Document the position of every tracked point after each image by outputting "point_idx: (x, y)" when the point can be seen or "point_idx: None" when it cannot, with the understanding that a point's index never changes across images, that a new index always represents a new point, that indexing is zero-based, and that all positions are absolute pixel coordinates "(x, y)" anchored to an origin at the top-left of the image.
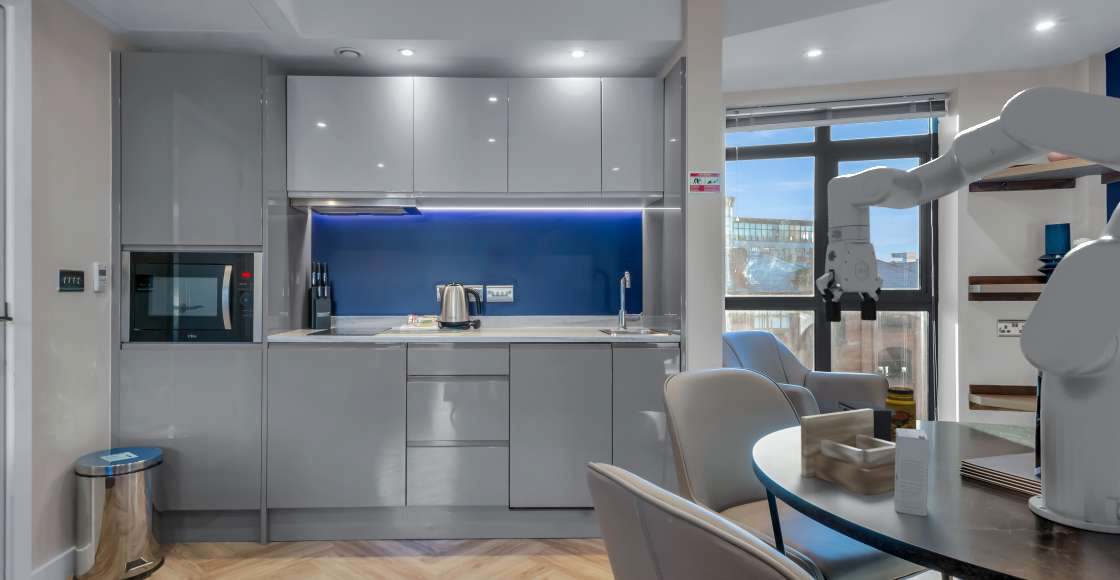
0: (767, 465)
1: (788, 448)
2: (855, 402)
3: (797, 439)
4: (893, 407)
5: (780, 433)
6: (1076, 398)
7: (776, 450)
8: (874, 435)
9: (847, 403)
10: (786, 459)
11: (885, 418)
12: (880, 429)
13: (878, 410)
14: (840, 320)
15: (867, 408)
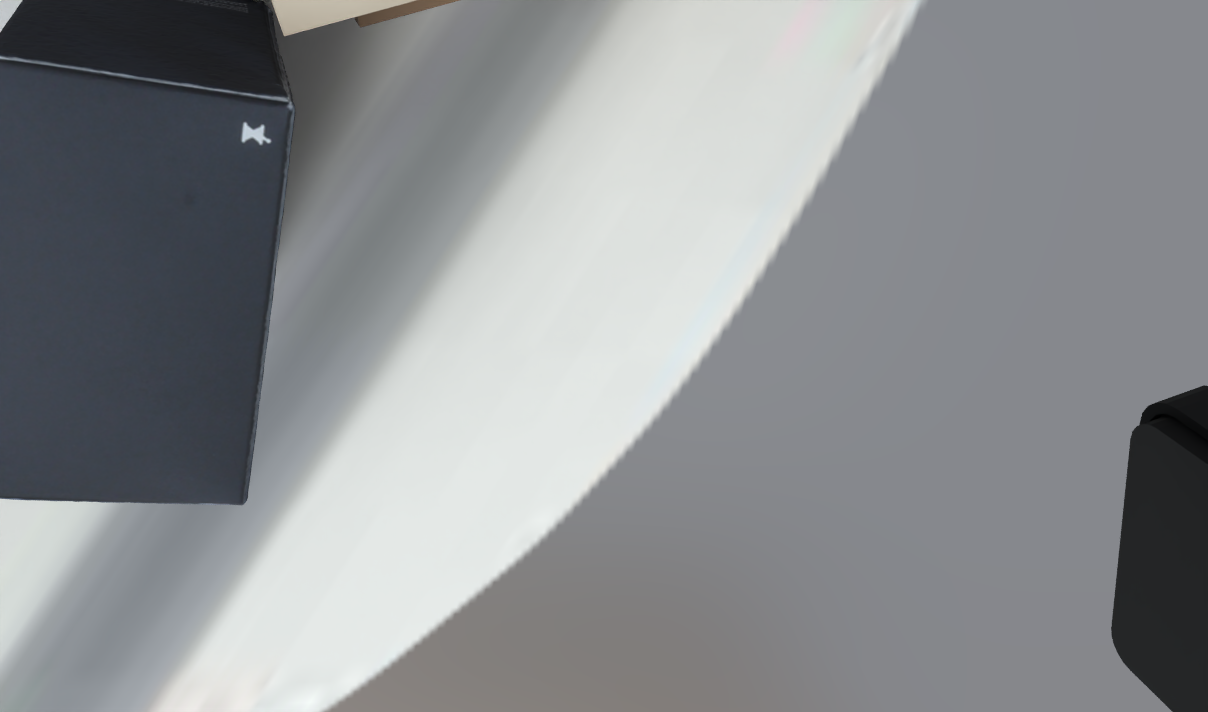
0: (874, 35)
1: (563, 335)
2: (146, 412)
3: (393, 512)
4: None
5: (419, 634)
6: None
7: (654, 303)
8: (177, 26)
9: (249, 381)
10: (709, 127)
11: (63, 43)
12: (120, 29)
13: (129, 74)
14: (1177, 402)
15: (294, 29)
